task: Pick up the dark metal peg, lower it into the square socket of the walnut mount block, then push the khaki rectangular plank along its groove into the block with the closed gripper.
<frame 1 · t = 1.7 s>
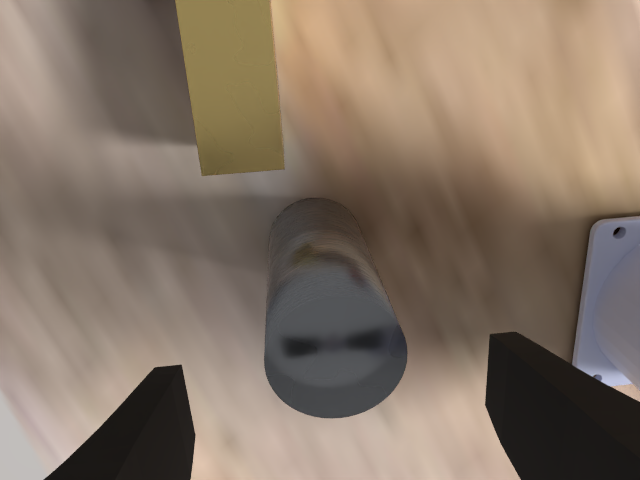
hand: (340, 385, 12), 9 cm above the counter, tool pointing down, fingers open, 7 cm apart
khaki rectangular plank: (235, 60, 16), point 2 cm above the counter, slide at 0.0 cm
peg: (315, 242, 21), on the counter
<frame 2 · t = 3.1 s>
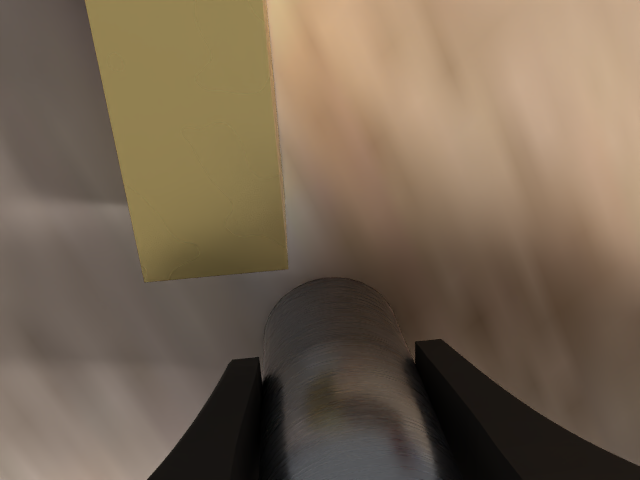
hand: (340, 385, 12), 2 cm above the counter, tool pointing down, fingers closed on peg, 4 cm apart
khaki rectangular plank: (205, 79, 10), point 2 cm above the counter, slide at 0.0 cm
peg: (331, 338, 14), on the counter, touching gripper
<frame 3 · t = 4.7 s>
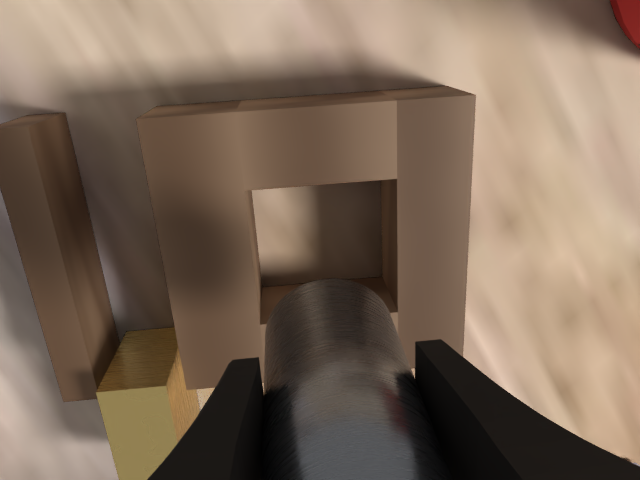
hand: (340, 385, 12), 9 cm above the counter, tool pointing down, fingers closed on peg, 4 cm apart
mount: (268, 229, 21), on the counter
khaki rectangular plank: (158, 419, 21), point 2 cm above the counter, slide at 0.0 cm
peg: (329, 335, 15), point 7 cm above the counter, touching gripper
when the fingers open (4 cm above the counter, at t = 6.5 s): peg drops 1 cm, resting in mount.
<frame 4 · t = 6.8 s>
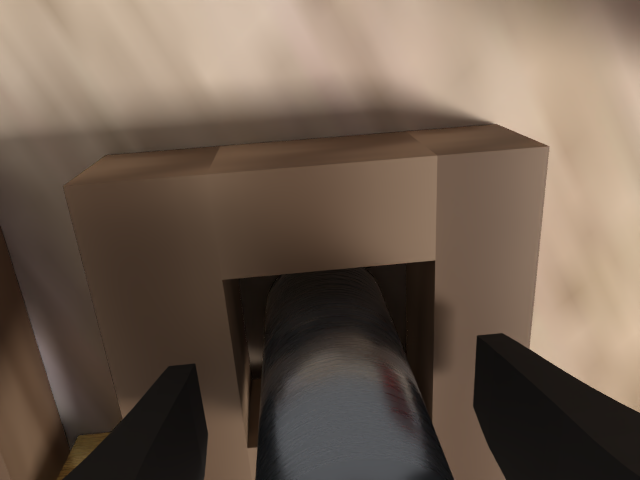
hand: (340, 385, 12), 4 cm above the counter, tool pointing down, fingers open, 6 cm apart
mount: (259, 309, 16), on the counter
peg: (324, 310, 16), resting in mount
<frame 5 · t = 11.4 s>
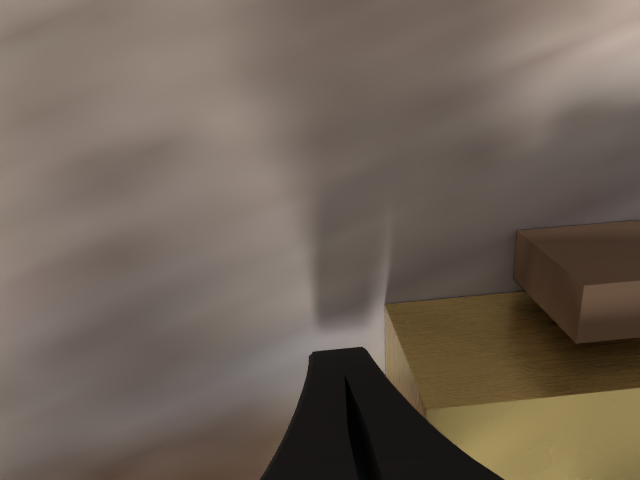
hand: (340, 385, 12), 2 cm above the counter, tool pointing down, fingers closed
khaki rectangular plank: (531, 380, 12), point 2 cm above the counter, slide at 1.7 cm, touching gripper
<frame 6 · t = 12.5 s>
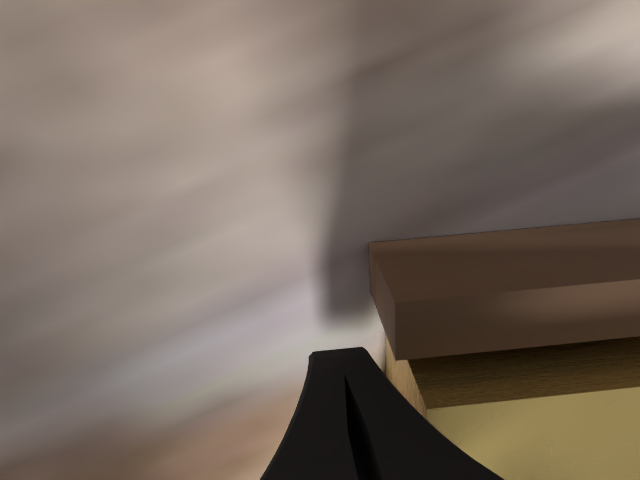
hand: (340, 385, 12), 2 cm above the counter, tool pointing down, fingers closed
mount: (540, 473, 16), on the counter
khaki rectangular plank: (532, 379, 12), point 2 cm above the counter, slide at 5.4 cm, touching gripper
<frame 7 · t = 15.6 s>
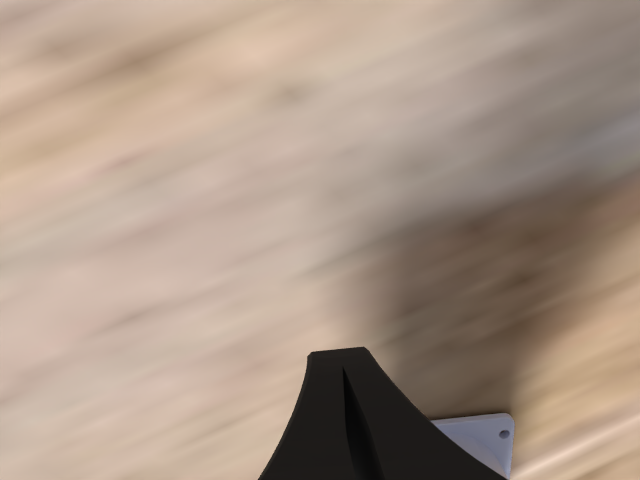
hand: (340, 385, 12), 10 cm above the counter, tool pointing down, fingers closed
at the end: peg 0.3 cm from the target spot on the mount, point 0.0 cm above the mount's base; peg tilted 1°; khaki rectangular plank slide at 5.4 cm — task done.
